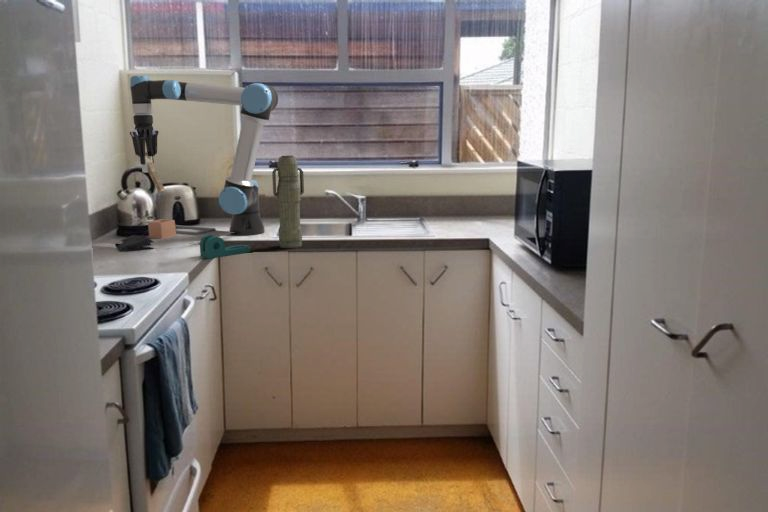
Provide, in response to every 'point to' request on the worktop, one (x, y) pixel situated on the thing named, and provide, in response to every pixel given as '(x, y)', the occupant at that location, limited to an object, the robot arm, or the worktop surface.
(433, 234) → the worktop surface
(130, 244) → the dark slate chunk
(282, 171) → the thermos
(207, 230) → the charcoal tray
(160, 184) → the beech stick
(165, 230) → the orange open cube box
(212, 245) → the bracket
